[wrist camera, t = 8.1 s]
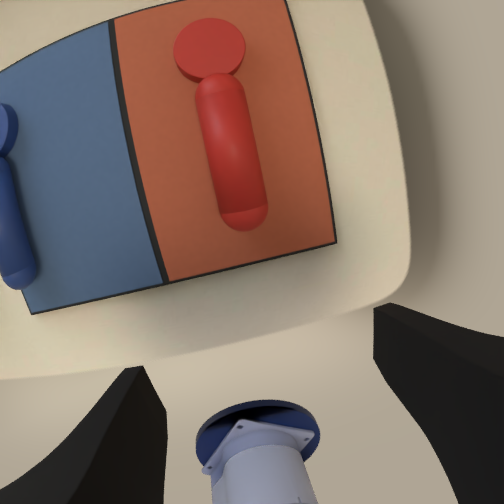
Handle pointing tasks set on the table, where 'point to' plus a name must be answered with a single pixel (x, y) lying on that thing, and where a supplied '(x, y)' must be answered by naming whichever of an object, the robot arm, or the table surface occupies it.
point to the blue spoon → (12, 214)
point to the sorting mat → (156, 155)
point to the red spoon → (224, 118)
